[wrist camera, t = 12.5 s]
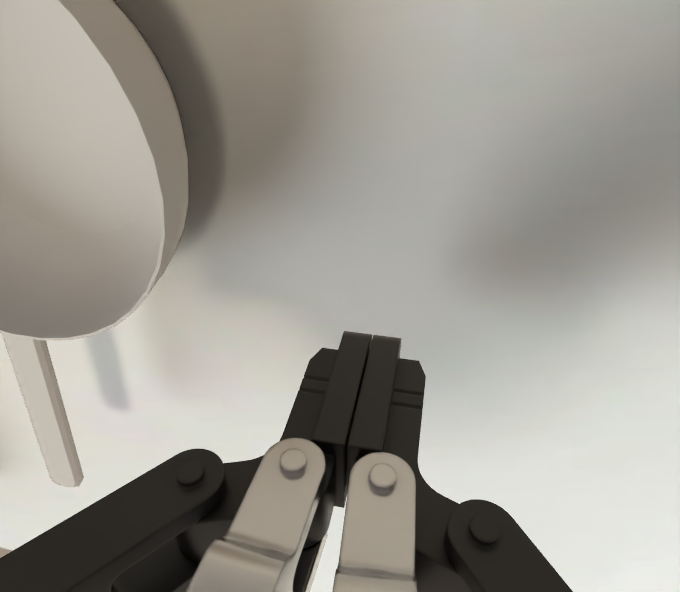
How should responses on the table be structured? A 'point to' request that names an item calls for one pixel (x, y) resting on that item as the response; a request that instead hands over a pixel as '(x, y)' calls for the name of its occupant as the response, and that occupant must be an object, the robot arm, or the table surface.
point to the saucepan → (80, 190)
